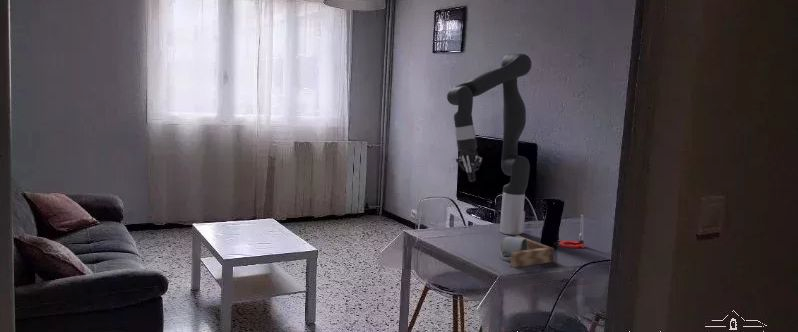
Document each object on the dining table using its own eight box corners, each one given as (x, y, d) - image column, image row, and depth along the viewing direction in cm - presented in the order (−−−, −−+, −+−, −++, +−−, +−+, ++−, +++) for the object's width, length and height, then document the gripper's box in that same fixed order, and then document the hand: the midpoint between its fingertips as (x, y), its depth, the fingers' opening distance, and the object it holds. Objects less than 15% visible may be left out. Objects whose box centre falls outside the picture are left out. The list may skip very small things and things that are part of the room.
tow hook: (561, 248, 238) (585, 249, 238) (563, 216, 237) (587, 217, 236) (557, 243, 247) (580, 243, 246) (558, 212, 245) (581, 212, 245)
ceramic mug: (506, 252, 227) (508, 232, 225) (527, 257, 222) (529, 236, 221) (495, 259, 218) (496, 238, 217) (516, 264, 213) (518, 243, 212)
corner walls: (516, 247, 234) (518, 235, 233) (552, 261, 218) (554, 248, 217) (479, 252, 224) (480, 239, 223) (514, 267, 208) (515, 253, 207)
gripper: (447, 140, 237) (454, 183, 239) (471, 138, 227) (478, 183, 229) (460, 137, 242) (467, 179, 244) (485, 135, 232) (491, 179, 233)
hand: (472, 181), depth 236 cm, fingers closed
